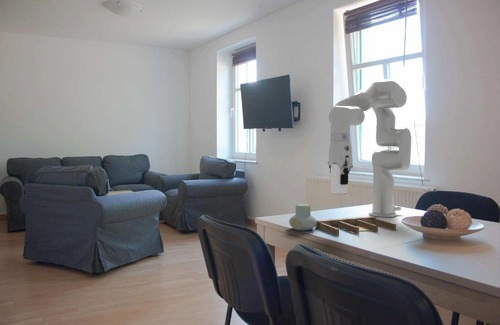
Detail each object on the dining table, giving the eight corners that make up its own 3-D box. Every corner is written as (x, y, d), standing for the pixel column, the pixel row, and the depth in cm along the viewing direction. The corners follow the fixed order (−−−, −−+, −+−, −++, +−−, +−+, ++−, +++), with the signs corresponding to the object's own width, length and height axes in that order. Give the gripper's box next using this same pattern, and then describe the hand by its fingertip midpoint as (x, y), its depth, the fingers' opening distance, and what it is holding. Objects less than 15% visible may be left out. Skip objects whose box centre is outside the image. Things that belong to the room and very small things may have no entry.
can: (348, 192, 163) (348, 162, 162) (346, 194, 157) (346, 163, 156) (331, 192, 165) (332, 162, 164) (329, 194, 159) (329, 163, 158)
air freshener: (319, 230, 162) (320, 205, 162) (306, 233, 157) (306, 207, 156) (299, 225, 170) (299, 202, 170) (285, 228, 165) (286, 204, 164)
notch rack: (373, 223, 177) (373, 216, 177) (397, 230, 163) (397, 223, 163) (315, 227, 167) (315, 220, 167) (335, 235, 153) (335, 228, 153)
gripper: (361, 138, 153) (360, 185, 154) (335, 137, 169) (335, 180, 170) (344, 138, 150) (343, 186, 151) (320, 137, 166) (319, 181, 167)
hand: (339, 182), depth 160 cm, fingers closed on can, 6 cm apart
